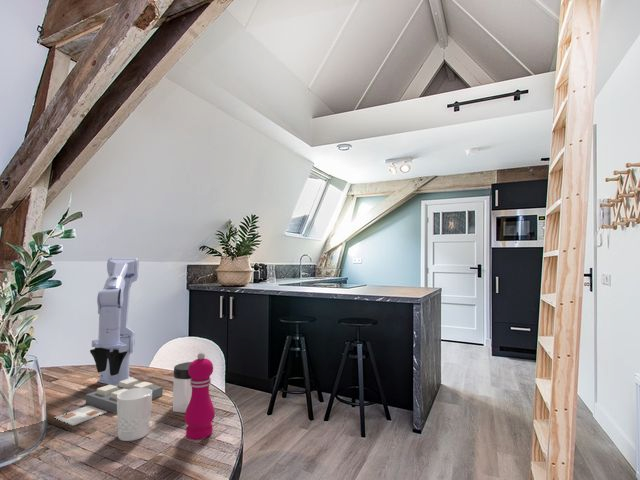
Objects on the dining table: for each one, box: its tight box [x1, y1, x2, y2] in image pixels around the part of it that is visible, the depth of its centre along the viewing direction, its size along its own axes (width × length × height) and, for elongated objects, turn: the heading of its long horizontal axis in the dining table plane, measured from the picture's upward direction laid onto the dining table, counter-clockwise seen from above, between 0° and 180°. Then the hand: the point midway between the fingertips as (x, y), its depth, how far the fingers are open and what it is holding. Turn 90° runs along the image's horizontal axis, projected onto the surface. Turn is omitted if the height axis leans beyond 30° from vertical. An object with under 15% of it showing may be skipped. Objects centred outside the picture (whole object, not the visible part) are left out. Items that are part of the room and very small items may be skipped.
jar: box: [172, 361, 193, 414], centre depth 106 cm, size 9×8×12 cm
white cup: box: [116, 388, 153, 442], centre depth 89 cm, size 8×8×10 cm
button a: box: [96, 384, 118, 396], centre depth 110 cm, size 4×4×2 cm
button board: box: [85, 380, 164, 414], centre depth 111 cm, size 15×15×3 cm
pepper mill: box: [184, 352, 216, 440], centre depth 90 cm, size 7×7×20 cm
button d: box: [133, 381, 154, 389], centre depth 113 cm, size 4×4×2 cm
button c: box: [111, 389, 128, 400], centre depth 106 cm, size 4×4×2 cm
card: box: [53, 404, 108, 426], centre depth 99 cm, size 9×9×1 cm
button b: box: [119, 377, 139, 389], centre depth 116 cm, size 4×4×2 cm
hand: (108, 373), depth 110 cm, fingers open, 6 cm apart
